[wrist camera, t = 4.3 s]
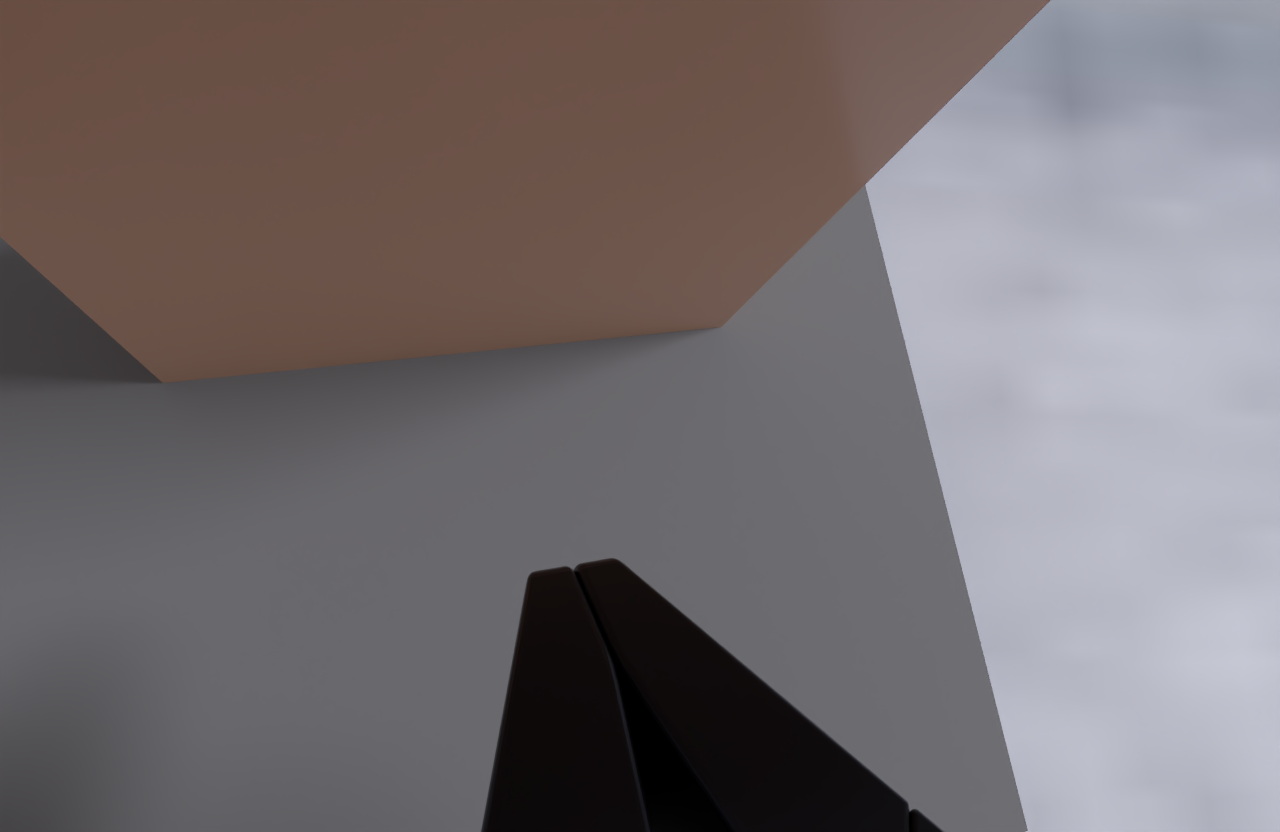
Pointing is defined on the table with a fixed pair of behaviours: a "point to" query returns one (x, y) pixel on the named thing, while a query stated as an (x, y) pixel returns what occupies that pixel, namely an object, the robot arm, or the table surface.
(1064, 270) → the table surface
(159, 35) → the tile
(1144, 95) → the table surface
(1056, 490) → the table surface
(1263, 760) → the table surface
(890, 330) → the mat
